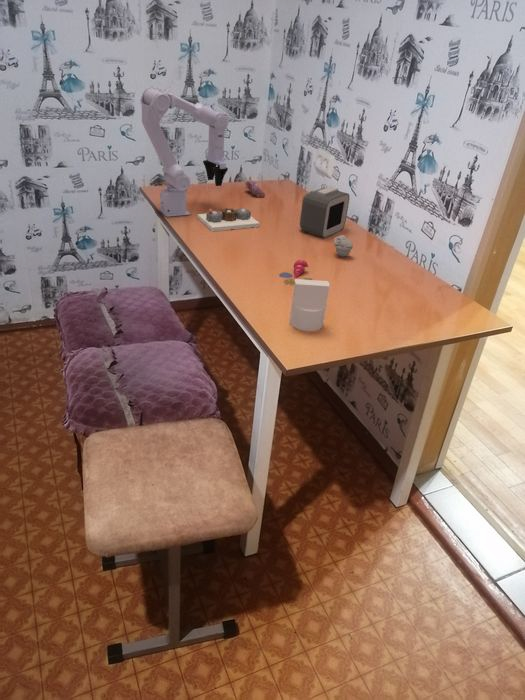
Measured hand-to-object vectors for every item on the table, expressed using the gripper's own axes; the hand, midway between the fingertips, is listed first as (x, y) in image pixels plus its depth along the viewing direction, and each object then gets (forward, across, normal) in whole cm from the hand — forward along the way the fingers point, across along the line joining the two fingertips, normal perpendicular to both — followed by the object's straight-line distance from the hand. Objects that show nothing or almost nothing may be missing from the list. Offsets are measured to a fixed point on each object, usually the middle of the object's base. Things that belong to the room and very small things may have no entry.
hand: (214, 182), depth 219 cm
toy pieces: (+10, -65, 0) cm, 66 cm away
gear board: (+10, -16, +1) cm, 19 cm away
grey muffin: (+10, -55, -24) cm, 61 cm away
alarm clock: (+10, -32, -30) cm, 45 cm away
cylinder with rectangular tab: (+10, -91, +12) cm, 92 cm away
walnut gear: (+8, -17, +1) cm, 19 cm away
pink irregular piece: (+10, +12, -24) cm, 29 cm away
